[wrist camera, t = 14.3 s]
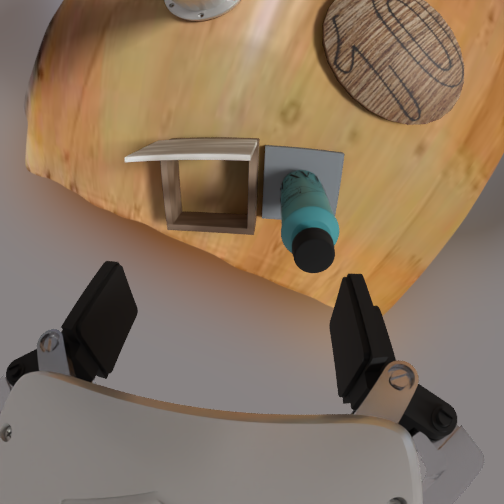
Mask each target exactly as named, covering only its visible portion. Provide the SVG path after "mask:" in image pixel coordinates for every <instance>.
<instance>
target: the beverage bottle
mask: <svg viewBox="0 0 504 504" xmlns="http://www.w3.org/2000/svg"><path fill="white" fill-rule="evenodd" d="M322 186H323V184H321V182H320V180H319V179H318V176H316V175H315V174H314V173H312V172H309V170H308V171H306V170H303V169H300V170H297V171H294V172H293V171H292V172H290V174H287V176H286V177H285V178H283V182H282V185H281V188H280V190H281V193H280V194H281V196H280V197H281V198H280V203H281V205H280V206H281V214H280V215H281V219H282V222H281V224H282V228H281V237H282V241H283V243H284V245H285V247H286V248H287V249H288V250H289V251H290V252H291V253H292V254H293V256H294V261H295V263H296V265H297V266H298V267H299V268H300V269H301V270H303V271H305V272H308V273H318V272H322V271H324V270H326V269H327V268H328V267H329V266H330V265H331V264H332V263H333V260H334V257H335V250H334V245H335V244H336V242H337V240H338V236H339V225H338V222H337V220H336V218H335V216H334V214H333V211H332V209H331V206H330V204H329V200H328V198H327V196H326V193H325V191H324V190H325V188H324V189H323V187H322Z"/></svg>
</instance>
